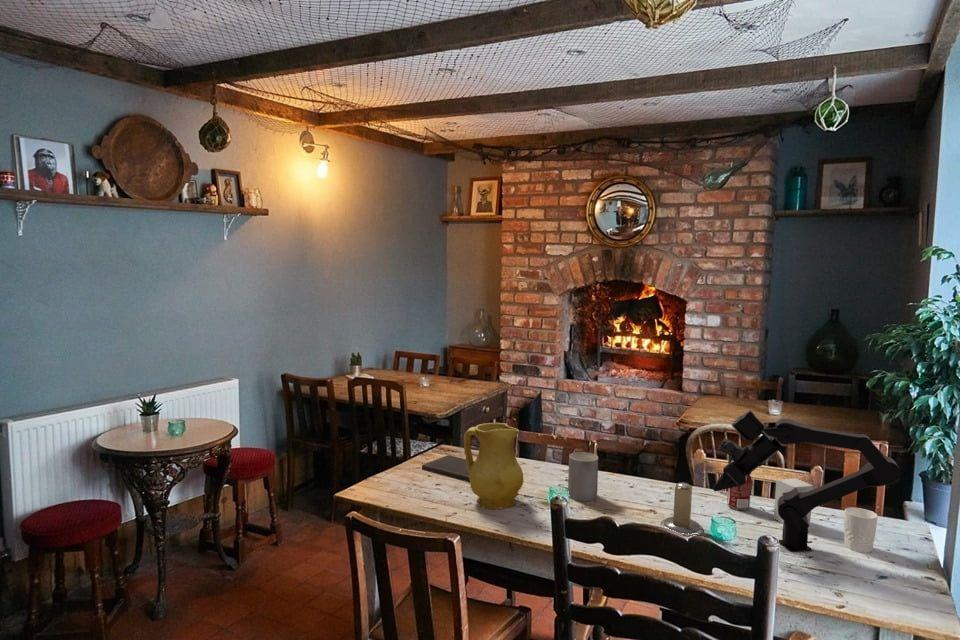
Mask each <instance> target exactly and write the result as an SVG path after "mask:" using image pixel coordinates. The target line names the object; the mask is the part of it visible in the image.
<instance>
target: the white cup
mask: <svg viewBox="0 0 960 640" xmlns="http://www.w3.org/2000/svg"><path fill="white" fill-rule="evenodd" d="M878 516H879V515H878V514H877V513H875V512H874V511H872V510H869V509H865V508H861V507H846V508H844V521H843V524H844V525H843V531H844V546H845V547H846V548H847V549H849V550H851V551H853V552H854V551H855V552H858V553H865V554H866V553H871V552H873V550H874V549H873V548H874V542H875V537H876V532H877V523H878Z"/></svg>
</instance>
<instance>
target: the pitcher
mask: <svg viewBox="0 0 960 640" xmlns="http://www.w3.org/2000/svg"><path fill="white" fill-rule="evenodd" d="M519 434H520V430H519V429H518V428H516V427H512V426H510V425H508V423H504V422H503V423H501V422H487V423H486V422H485V423H481V424H480V423H479V424H478V425H476V426H471V427H470V428H468V430H466V431H465V432H464V434H463V444H464V445H463V448H464V455H465V459H466V462H467V470H468V472H469V479H470V482H469V485H470V488H471V492H473V494H474V495H475V496H477V497H478V498H477V499H476V504H477V505H478V506H480V507H481V508H485V509H490V510H498V509H499V510H500V509H507V508H509V509H510V508H512V507H515V505H516V504H517V503H516V501H515V498H517V497H518V496H520V494H519V491H520V490H521V488H522V487H523V485H524V472H523V469H522V467H521V465H520V463H519V462H518V460H517V457H516V455H515V448H514V446H515V445H514V444H515V438H516V437H517V436H518V435H519ZM471 436H476V439H477V440H478V442H479V449H478V453H477V456H476V458H475V462H474V457H473V453H472V449H471Z"/></svg>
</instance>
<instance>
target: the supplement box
mask: <svg viewBox="0 0 960 640" xmlns="http://www.w3.org/2000/svg"><path fill="white" fill-rule="evenodd" d="M775 483H776V484H775V493H774V494H775V495H774V496H775V497H774V509H773V520H775V519H776V520H775V521H777V520H778V521H777V522H779V523H781V524H782V523H783V525H784V520H783V519H781V517H780V516H779V514H778V505H777V502H778V500H779V498H780V497H781V496H783V493H786V492H790V491H791V490H793V489H795V488H797V490H798V492H808V491H810V490H813V489H814V485H813V484H810V483H808V482H805V481H803V480H800V479H798V478H783V479H781V478H780V479H776V482H775ZM811 514H812V511H810V512H809V513H808V514H807V517H808V522H809V527H810V526H811Z"/></svg>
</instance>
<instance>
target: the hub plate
mask: <svg viewBox="0 0 960 640" xmlns="http://www.w3.org/2000/svg"><path fill="white" fill-rule="evenodd" d="M660 524H661V525H660ZM660 524H659V525H660V527H661V526H662V525H663V527H665V528H668V529H671V530H674V531H676V532H678V533H680V534H682V533H684V534H682V535H685V537H687V536H686V535H688V533H689V534H692V533H698V534H700V535H702V534H703V532H704V528H703V526H702V525H701V524H700V523H699V522H697V521H696V520H693V519H690V526H689V528H688V527H682V526H676V525H673V516H671V517H667V518H665V519H662V520H661V521H660ZM698 534H692V535H696V536H699V535H698ZM682 535H681V536H682Z"/></svg>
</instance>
